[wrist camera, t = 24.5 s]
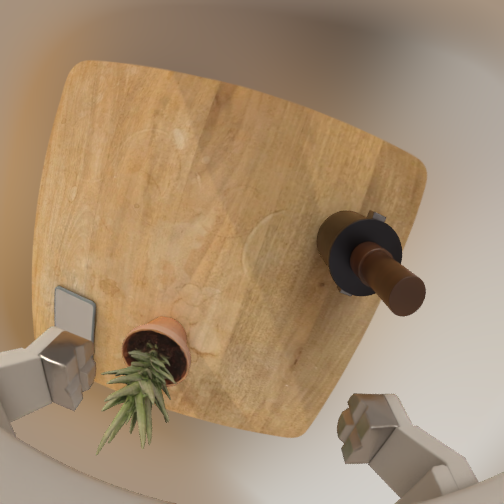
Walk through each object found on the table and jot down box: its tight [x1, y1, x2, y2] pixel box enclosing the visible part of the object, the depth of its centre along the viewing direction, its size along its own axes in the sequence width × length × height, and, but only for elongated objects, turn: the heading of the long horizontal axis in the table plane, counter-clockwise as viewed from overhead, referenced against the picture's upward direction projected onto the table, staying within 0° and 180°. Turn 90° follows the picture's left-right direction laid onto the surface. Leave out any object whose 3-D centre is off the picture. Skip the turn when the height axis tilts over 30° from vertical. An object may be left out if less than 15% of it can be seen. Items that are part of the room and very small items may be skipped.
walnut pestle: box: [350, 242, 426, 316], centre depth 25 cm, size 4×4×10 cm
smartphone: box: [55, 286, 96, 358], centre depth 43 cm, size 8×1×15 cm
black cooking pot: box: [317, 210, 402, 296], centre depth 34 cm, size 10×9×9 cm
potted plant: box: [96, 317, 191, 455], centre depth 31 cm, size 10×10×25 cm
